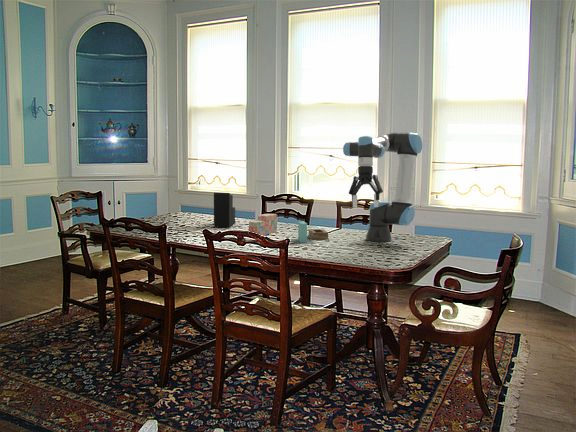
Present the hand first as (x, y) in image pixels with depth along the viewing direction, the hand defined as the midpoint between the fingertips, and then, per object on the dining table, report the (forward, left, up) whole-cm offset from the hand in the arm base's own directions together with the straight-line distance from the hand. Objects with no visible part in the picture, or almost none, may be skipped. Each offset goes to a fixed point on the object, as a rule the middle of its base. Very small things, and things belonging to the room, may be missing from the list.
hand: (365, 207), depth 303 cm
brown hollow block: (-4, -54, -25) cm, 59 cm away
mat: (+11, -47, -25) cm, 54 cm away
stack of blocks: (+21, -78, -26) cm, 85 cm away
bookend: (+29, -122, -26) cm, 128 cm away
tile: (+11, -47, -25) cm, 54 cm away
